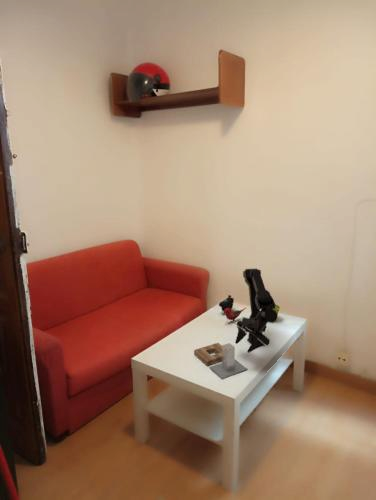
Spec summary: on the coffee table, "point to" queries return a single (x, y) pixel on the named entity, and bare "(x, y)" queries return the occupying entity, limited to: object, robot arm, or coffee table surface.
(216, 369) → the grey mat
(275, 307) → the plant pot
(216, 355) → the brown wooden frame
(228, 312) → the decorative bird figurine
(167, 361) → the coffee table surface
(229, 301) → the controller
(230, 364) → the steel key bar
